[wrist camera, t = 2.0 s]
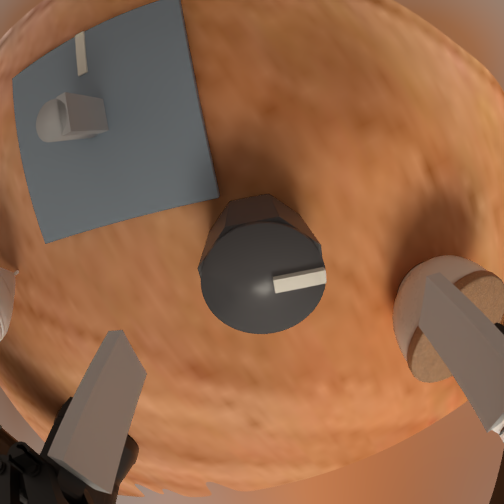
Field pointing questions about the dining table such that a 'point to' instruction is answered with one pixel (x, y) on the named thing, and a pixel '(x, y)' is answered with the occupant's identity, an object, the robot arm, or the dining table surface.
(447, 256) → the lidded jar
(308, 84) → the dining table surface
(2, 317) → the spinning top
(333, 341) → the dining table surface
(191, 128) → the shaft plate
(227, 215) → the knob
